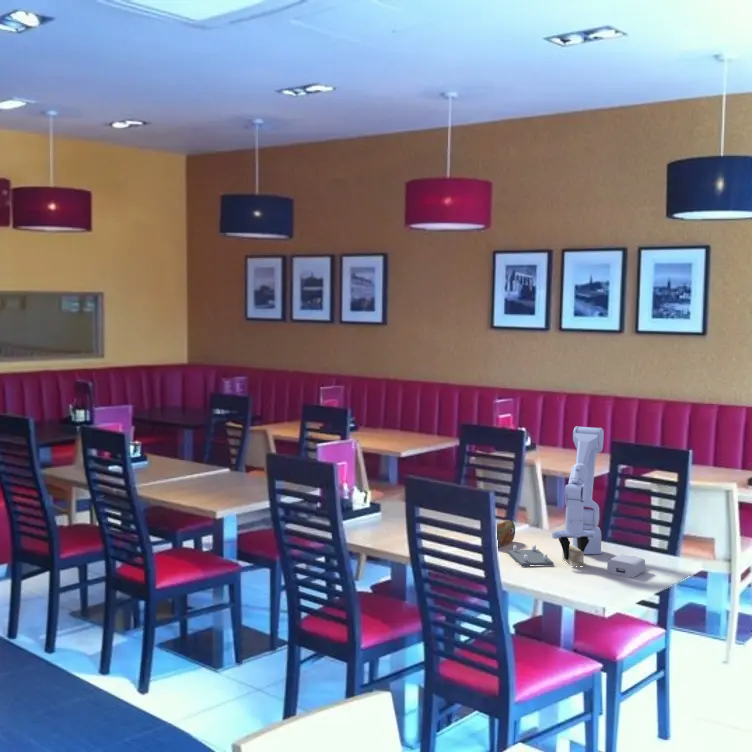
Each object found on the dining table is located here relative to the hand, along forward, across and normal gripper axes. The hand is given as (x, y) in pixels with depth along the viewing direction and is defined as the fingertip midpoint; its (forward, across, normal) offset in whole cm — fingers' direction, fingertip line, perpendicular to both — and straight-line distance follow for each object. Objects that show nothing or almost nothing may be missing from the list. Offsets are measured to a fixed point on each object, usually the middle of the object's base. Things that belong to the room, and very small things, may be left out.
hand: (572, 558), depth 312 cm
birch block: (+2, 0, 0) cm, 2 cm away
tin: (+2, -17, +26) cm, 31 cm away
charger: (+2, +16, -9) cm, 19 cm away
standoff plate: (+2, -13, +6) cm, 14 cm away
